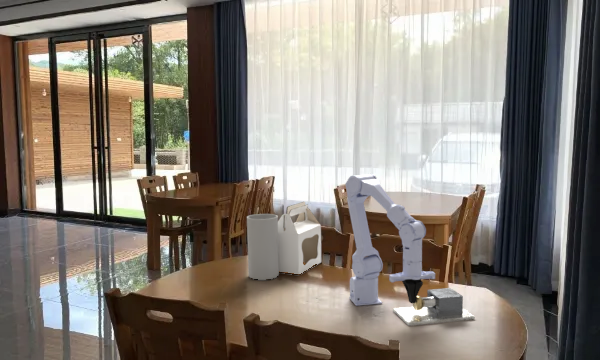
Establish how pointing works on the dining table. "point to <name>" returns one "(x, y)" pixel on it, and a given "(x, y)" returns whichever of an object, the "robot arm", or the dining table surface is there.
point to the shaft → (424, 302)
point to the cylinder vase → (263, 246)
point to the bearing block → (436, 309)
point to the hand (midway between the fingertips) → (412, 302)
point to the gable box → (298, 240)
